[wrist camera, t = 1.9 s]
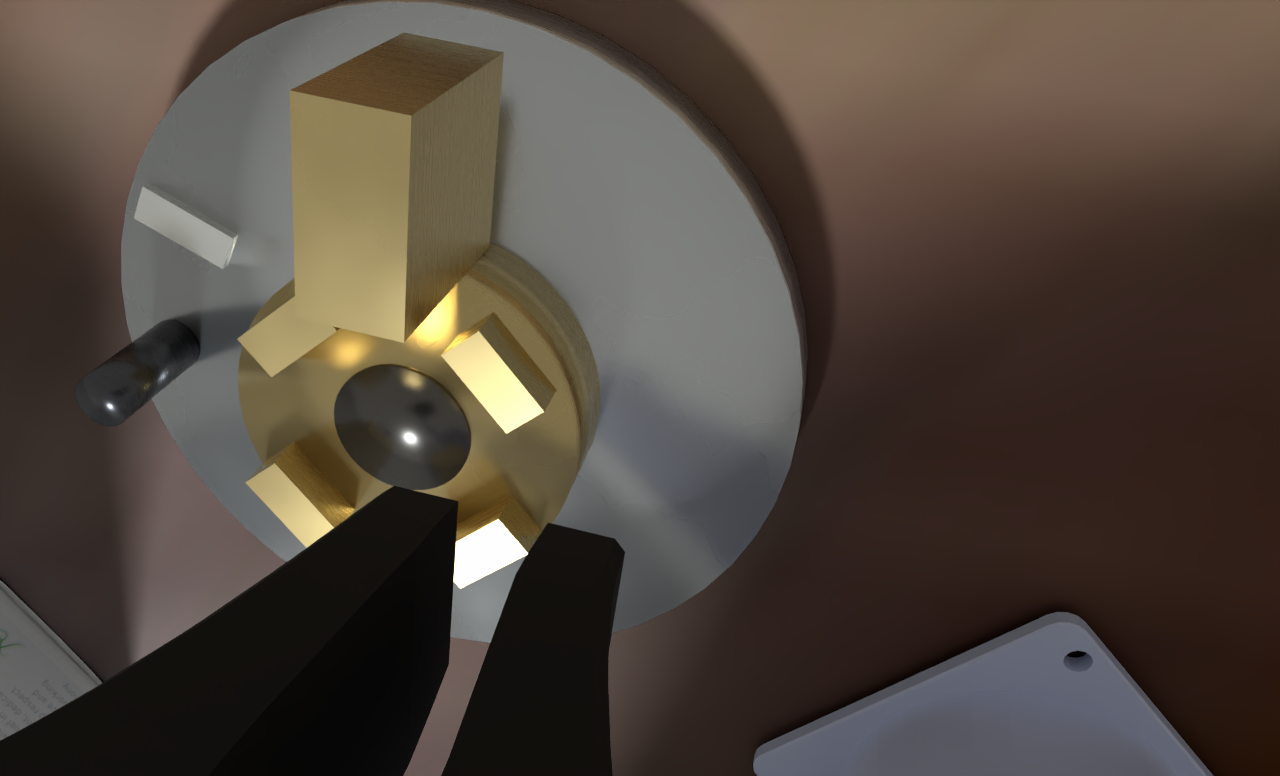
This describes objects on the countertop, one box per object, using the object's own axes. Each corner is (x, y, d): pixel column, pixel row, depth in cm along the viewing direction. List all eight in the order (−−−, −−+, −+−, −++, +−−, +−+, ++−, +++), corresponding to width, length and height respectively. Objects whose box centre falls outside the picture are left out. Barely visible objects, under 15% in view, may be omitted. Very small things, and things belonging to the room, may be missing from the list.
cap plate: (954, 416, 20) (962, 530, 17) (478, 689, 26) (421, 809, 23) (453, -196, 17) (353, -189, 14) (44, 279, 23) (-88, 356, 20)
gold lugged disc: (766, 350, 18) (736, 474, 15) (448, 563, 22) (368, 699, 19) (452, -16, 16) (338, 36, 13) (163, 285, 20) (21, 383, 17)
